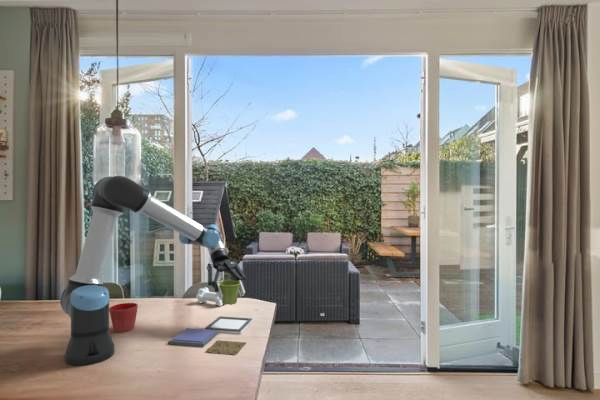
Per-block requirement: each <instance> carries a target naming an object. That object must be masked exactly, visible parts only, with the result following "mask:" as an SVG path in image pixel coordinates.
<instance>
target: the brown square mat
mask: <svg viewBox="0 0 600 400" xmlns="http://www.w3.org/2000/svg"><path fill="white" fill-rule="evenodd" d="M246 344H247V342H244V341H233V340H232V341H231V340H221V339H220V340H219V339H217V340H216V341H215V342H214V343H213V344H212V345H211V346H209V347H208V348H207V349H206V350H205V351H204V354H214V355H226V356H237V355H238V354H239V352H240V351H241V350H242V349H243V348H244V346H246Z"/></svg>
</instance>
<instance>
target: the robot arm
mask: <svg viewBox="0 0 600 400" xmlns="http://www.w3.org/2000/svg"><path fill="white" fill-rule="evenodd" d="M90 204H91V205H90V208H91V210H92V211H93V213H92V217H91V220H90V224H89V226H88V231H87V234H86V238H85V241H84V244H83V247H82V250H81V254H80V257H79V261H78V265H77V267H76V269H75V270H76V271H75V274H73V275H72V276H70V277H68V282H67V285H66V287H65V288H64V289H63V291H62V292H61V294H60V297H59V298H60V299H59V302H60V306H61V309H62V311H64V313H65V314H66V315H68V316H69V317H70V338H69V341H68V344H67V346H66V351H65V352H64V362H65V363H66V364H68V365H71V366H85V365H93V364H96V363H99V362H103V361H105V360H107V359H109V358H111V357H113V355H115V352H116V349H115V347H116V346H115V343H114V340H113V339H112V335H111V332H110V311H109V308H110V300H111V299H110V298H111V297H110V292H109V289H108V288H107V287H105V286H103V285H104V281H103V280H102V278H101V277H102V273H103V270H104V267H105V262H106V260H107V256H108V253H109V248H110V245H111V242H112V239H113V235H114V232H115V228H116V225H117V221H118V218H119V217H121V216H122V215H124V211H125V209H127V210H129V211H132V212H133V213H135V214H136V213H137V214H138V213H141V214H143V215H145V216H146V217H148V218H150V219H152V220H154V221H156V222H157V223H160V224H161V225H163V226H165V227H166V228H169V229H170V230H173V231H174V232H176V233H178V240H179V242H180V243H181V244H182V245H183V244H185V245H194V246H198V247H203V248H207V250H208V253H209V256H210V260H211V263H207V265H206V269H207V285H208V287H209V286H212V288H213V290H214V293H216V292H217V293H218V296H219V299H220V300H221V299H222V297H223V294H222V291H221V288H220V285H219V282H218V279H219V275H220V273H222V272H224V273H225V272H226V273H227V274H230V275H231V276H232V277H233V278H234V279H235V281H239V282H241V284H240V286H239V289H238V291H239V292H240V294H241V297H244V296H245V294H246V291H245V283H244V282H245V279H246V278H247V277H246V275H245V273H244V271H243V270H242V269H241V268H240V265H239V264H238V261H237V260H234V261H231V260H230V258H229V255H228V252H227V250H226V247H225V244H224V241H223V239H222V235H221V232H220V229H219V228H218V226H217V225H216V224H213V223H211V224H207V225H202V224H201V223H199V222H198V221H196V220H195V219H194V220H193V219H192V218H191V217H189V216H187V215H185V214H184V213H182V212H180V211H179V210H177V209H175V208H174V207H172V206H170V205H169V204H166V203H165V202H164V201H162V200H160V199H158V198H157V197H155V196H154V195H152V194H151V191H150V190H148V189H146V188H145V187H144V186H142V185H141V184H139V183H137V182H136V181H134V180H133V179H131V178H128V177H126V176H124V175H123V176H122V175H115V176H114V175H113V176H106V177H105V176H104V177H102V178H101V179H99V180H98V181H97V182H96V183H95V184H94V185H93V187H92V202H91V203H90ZM213 268H214V270H216V271H215V273H214V274H215V275H214V279H213Z"/></svg>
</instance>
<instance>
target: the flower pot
mask: <svg viewBox="0 0 600 400" xmlns="http://www.w3.org/2000/svg"><path fill="white" fill-rule="evenodd" d="M138 307H139V305H138V303H135V302H124V303H117V304H114V305H112V306H109V317H110V320H111V324H112V328H113V331H114V332H115V333H125V332H130V331H132V330H134V328H135V326H136V325H135V324H136V320H137V319H136V318H137V315H138Z"/></svg>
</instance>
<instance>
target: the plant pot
mask: <svg viewBox="0 0 600 400" xmlns="http://www.w3.org/2000/svg"><path fill="white" fill-rule="evenodd" d="M218 283H219V285H220V288H221V291H222V294H223V297H222V304H225V305H224V306H226V305H229V306H231V305H235V304H237V302H238V296H239V295H238V294H239V286H240V284H241V282H239V281H237V280H223V281H220V282H218Z"/></svg>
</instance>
